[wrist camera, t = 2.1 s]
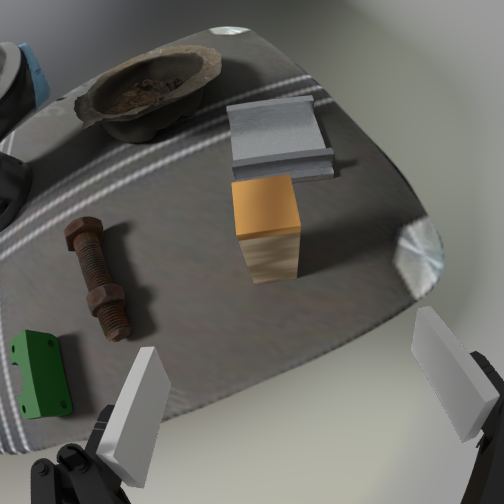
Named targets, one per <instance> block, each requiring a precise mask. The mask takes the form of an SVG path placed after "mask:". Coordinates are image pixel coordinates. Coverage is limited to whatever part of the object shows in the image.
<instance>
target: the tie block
mask: <svg viewBox="0 0 504 504" xmlns="http://www.w3.org/2000/svg"><path fill="white" fill-rule="evenodd" d="M232 193H233V203H234V214H235V224H236V235H237V238H238V241H239V243H240V246H241V249H242V252H243V254H244V257H245V260H246V263H247V266H248V268H249V271H250V274H251V277H252V279H253V282H254V285H255V284H262V283H269V282H276V281H283V280H290V279H297V270H298V258H299V245H300V231H301V224H300V219H299V214H298V209H297V205H296V200H295V195H294V191H293V186H292V181H291V177H290V174H288V175H281V176H274V177H267V178H260V179H253V180H247V181H240V182H234V183H232Z"/></svg>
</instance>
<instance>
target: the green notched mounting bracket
mask: <svg viewBox="0 0 504 504" xmlns="http://www.w3.org/2000/svg"><path fill="white" fill-rule="evenodd" d="M10 357H11V365H19V367H20V369H21V372H22V376H23V392H22V394H21V396H17V398H18V403H19V407H20V411H21V414H22V416H23V418H24V419H37V418H42V417H56V416H63V415H68V414H70V413H71V411H72V403H71V399H70V395H69V391H68V387H67V383H66V378H65V374H64V369H63V364H62V359H61V354H60V348H59V343H58V340H57V339H56V337H55V336H54V335H52V334H49V333H42V332H36V331H30V330H24V331H23V332H21V333H20V334H18V335H17V336H16V337H14V338H13V339H12V340H11V342H10Z"/></svg>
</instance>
